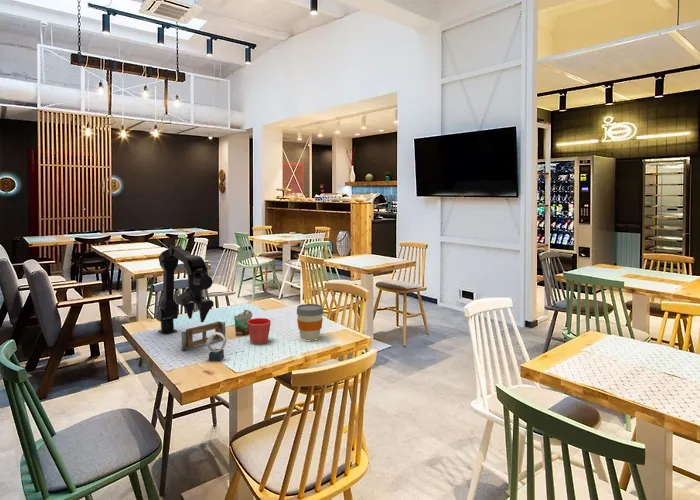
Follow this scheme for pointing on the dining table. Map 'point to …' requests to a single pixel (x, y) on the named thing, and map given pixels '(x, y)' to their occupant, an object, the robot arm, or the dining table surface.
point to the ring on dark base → (215, 353)
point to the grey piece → (184, 341)
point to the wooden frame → (203, 329)
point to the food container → (242, 322)
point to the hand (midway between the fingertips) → (196, 320)
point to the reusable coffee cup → (309, 321)
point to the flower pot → (259, 330)
